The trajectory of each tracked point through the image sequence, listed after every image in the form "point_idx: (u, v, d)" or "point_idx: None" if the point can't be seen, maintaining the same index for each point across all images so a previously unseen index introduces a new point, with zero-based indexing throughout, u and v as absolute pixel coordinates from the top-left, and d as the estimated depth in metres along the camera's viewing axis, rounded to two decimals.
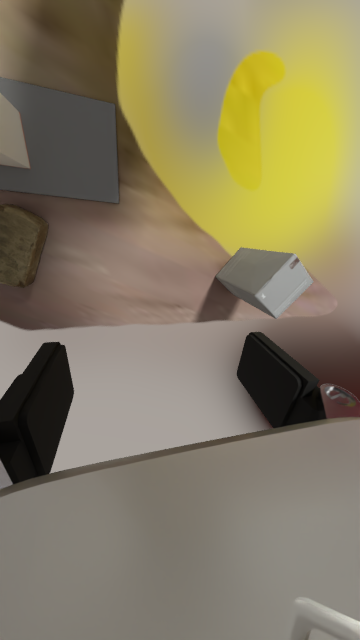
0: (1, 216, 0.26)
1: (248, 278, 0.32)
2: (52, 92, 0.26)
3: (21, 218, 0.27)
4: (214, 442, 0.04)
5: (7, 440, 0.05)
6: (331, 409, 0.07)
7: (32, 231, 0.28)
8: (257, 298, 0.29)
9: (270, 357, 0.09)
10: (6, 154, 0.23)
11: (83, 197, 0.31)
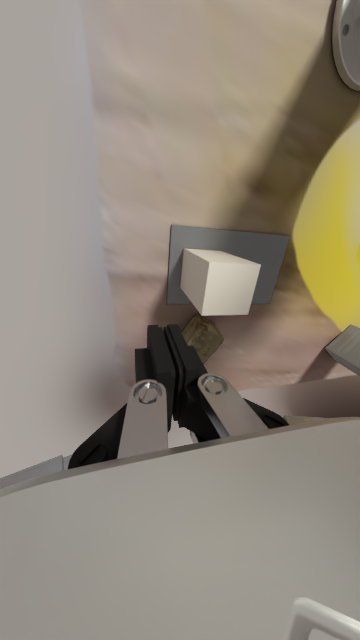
0: (204, 334, 0.32)
1: None
2: (248, 234, 0.31)
3: (216, 335, 0.33)
4: (214, 442, 0.04)
5: (164, 387, 0.07)
6: (218, 406, 0.06)
7: (218, 343, 0.34)
8: None
9: (171, 348, 0.09)
10: None
11: None
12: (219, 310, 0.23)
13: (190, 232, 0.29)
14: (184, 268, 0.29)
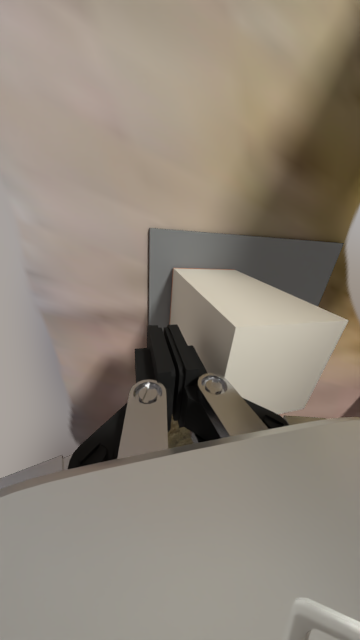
0: None
1: None
2: (279, 241, 0.19)
3: None
4: (214, 442, 0.04)
5: (164, 387, 0.07)
6: (218, 406, 0.06)
7: None
8: None
9: (171, 348, 0.09)
10: None
11: None
12: None
13: (183, 240, 0.17)
14: (175, 302, 0.17)
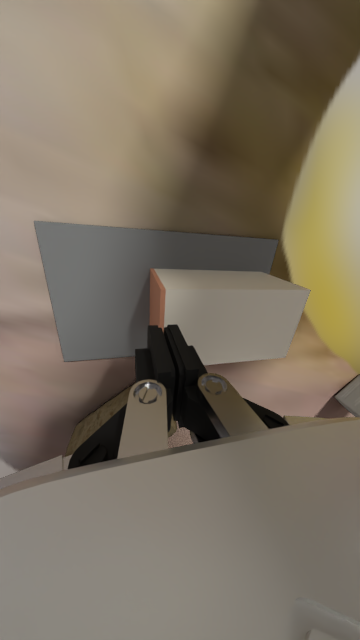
0: None
1: None
2: (200, 237, 0.17)
3: None
4: (214, 442, 0.04)
5: (164, 387, 0.07)
6: (218, 406, 0.06)
7: None
8: None
9: (171, 348, 0.09)
10: None
11: None
12: None
13: (80, 235, 0.15)
14: (183, 327, 0.13)
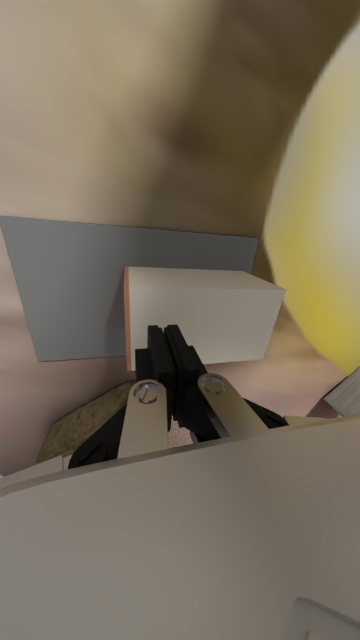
0: None
1: None
2: (176, 235, 0.16)
3: None
4: (214, 442, 0.04)
5: (164, 387, 0.07)
6: (218, 406, 0.06)
7: None
8: None
9: (171, 348, 0.09)
10: None
11: None
12: None
13: (48, 231, 0.14)
14: None
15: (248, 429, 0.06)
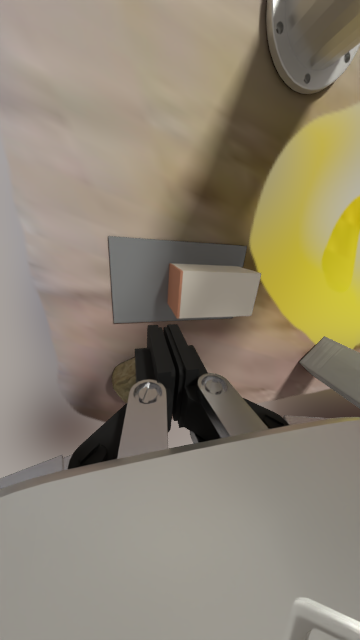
0: None
1: (356, 386, 0.35)
2: (199, 245, 0.28)
3: None
4: (214, 442, 0.04)
5: (164, 387, 0.07)
6: (218, 406, 0.06)
7: None
8: None
9: (171, 348, 0.09)
10: None
11: (204, 318, 0.33)
12: None
13: (131, 244, 0.26)
14: (191, 293, 0.24)
15: (248, 429, 0.06)
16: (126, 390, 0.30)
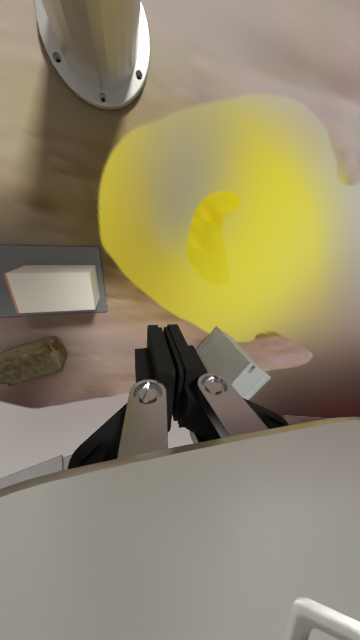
0: (44, 355, 0.35)
1: (217, 371, 0.38)
2: (48, 248, 0.32)
3: (55, 362, 0.37)
4: (214, 442, 0.04)
5: (163, 387, 0.07)
6: (218, 406, 0.06)
7: (54, 369, 0.37)
8: None
9: (171, 348, 0.09)
10: None
11: (77, 311, 0.38)
12: (96, 301, 0.34)
13: None
14: (22, 291, 0.29)
15: (248, 429, 0.06)
16: None
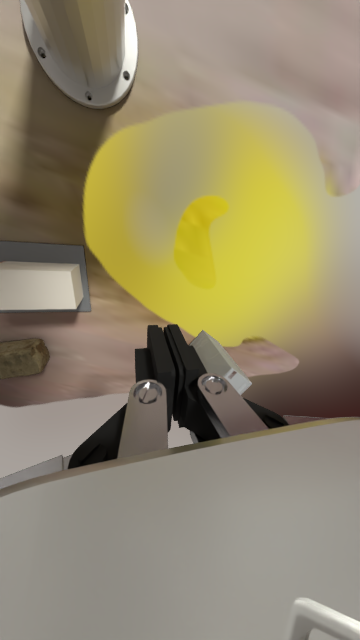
0: (26, 357, 0.35)
1: None
2: (30, 244, 0.31)
3: (36, 364, 0.36)
4: (214, 442, 0.04)
5: (164, 387, 0.07)
6: (218, 406, 0.06)
7: (33, 372, 0.37)
8: None
9: (171, 348, 0.09)
10: None
11: (59, 310, 0.37)
12: (78, 300, 0.33)
13: None
14: (0, 288, 0.28)
15: (248, 429, 0.06)
16: None
